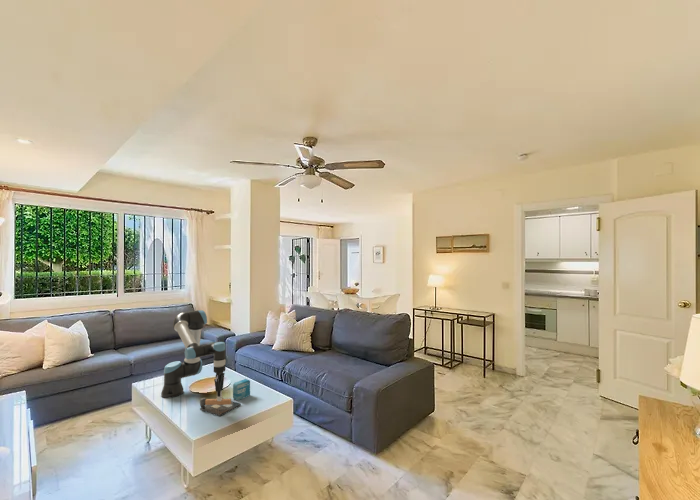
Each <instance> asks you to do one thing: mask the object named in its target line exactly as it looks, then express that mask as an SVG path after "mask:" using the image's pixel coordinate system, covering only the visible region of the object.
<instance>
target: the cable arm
mask: <svg viewBox="0 0 700 500" xmlns="http://www.w3.org/2000/svg"><path fill="white" fill-rule="evenodd" d="M199 400H200V401H199V405H200V407H201V406H204V405H228V404H231V401H232V398H223V399H222V401H217V398H206V397H202V398H201V397H200V399H199Z"/></svg>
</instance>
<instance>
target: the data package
mask: <svg viewBox="0 0 700 500" xmlns="http://www.w3.org/2000/svg"><path fill="white" fill-rule="evenodd" d="M250 395H251V380H249V379H246V378H243V379H242V380H239V381H236V382H235V381H234V383H233V384H232V399H234V400H235V401H240V400H242V399H245V398H247V397H249V396H250Z"/></svg>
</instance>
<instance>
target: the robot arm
mask: <svg viewBox="0 0 700 500" xmlns="http://www.w3.org/2000/svg"><path fill="white" fill-rule="evenodd" d="M207 323H208V317H207V314H206V312H205V311H204V310H202V309H201V310H191V311H183V312H180V313H179V314H177V315H176V316H175V317H174V319H173V322H172V327H173V329H174V331H175V332H177V334H178V336H179V338H180V339H181V341H182V343H183V345H184V347H185V349H184V359H183V362H182V361H180V360H176V361H172V362H171V361H170V362H169V363H167V364H166V365H165V366H164V369H163V387H162V390H161V393H160V394H161V395H160V396H161V397H162V398H166V399H167V398H175V397H179V396H180V395H182V394H184V386H183V384H182V379H184V378H188V377H192V376H193V377H194V376H196V375H199V374H201V373H202V370H203V361H202V359H201V358H202V357H206V356H212V355H213V373H215V378H214V379H213V381H214V387H215V388H214V389H215V390H214V391H215V392H216V399H217V401H222V398H223V392H222V391H224V382H225V374H226V373H225V372H226V362H227V360H226V342H225V341H217V342H213V341H211V342H208V343H206V344H201V336H202V335H201V333H202V330H203V329H204V328H205V327H204V326H205V325H207ZM200 344H201V345H200Z"/></svg>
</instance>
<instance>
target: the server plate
mask: <svg viewBox="0 0 700 500" xmlns="http://www.w3.org/2000/svg"><path fill="white" fill-rule="evenodd" d="M222 399H224V398H223V397H222ZM241 406H242V404H241V403H239V402H235V401H233V400H231V404H228V405H204V406H200V408H199V410H200V411H201V412H202V411H203V412H206V413H208V414H210V415H211V414H212V415H214V416H217V417H221V416H224V415H225V414H227V413H230V412H231V411H233V410H235V409H236V408H239V407H241Z"/></svg>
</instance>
